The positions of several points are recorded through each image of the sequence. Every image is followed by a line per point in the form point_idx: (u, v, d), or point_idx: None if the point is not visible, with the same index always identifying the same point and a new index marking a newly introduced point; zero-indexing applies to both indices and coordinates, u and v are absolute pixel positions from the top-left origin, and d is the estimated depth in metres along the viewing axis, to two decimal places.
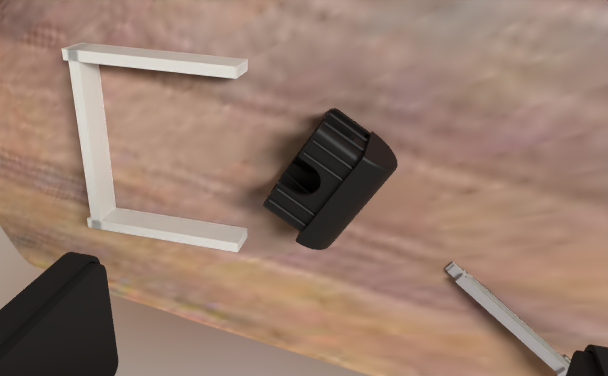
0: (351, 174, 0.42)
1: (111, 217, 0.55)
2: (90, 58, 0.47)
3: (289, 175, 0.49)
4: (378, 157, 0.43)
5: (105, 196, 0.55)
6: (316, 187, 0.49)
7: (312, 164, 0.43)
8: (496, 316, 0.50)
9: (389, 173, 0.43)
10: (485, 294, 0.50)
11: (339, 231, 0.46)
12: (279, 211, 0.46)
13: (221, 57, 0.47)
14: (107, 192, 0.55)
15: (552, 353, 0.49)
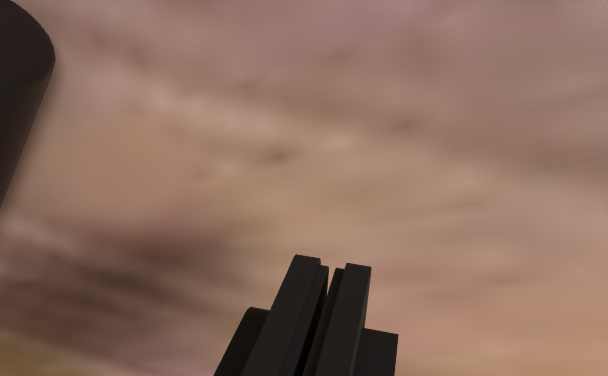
0: None
1: None
2: None
3: None
4: None
5: None
6: None
7: None
8: None
9: None
10: None
11: None
12: None
13: None
14: None
15: None
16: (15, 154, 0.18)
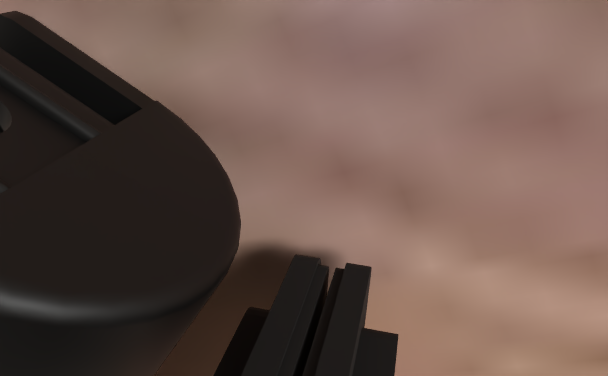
0: None
1: None
2: None
3: None
4: (81, 236, 0.07)
5: None
6: None
7: None
8: None
9: (157, 326, 0.07)
10: None
11: None
12: None
13: None
14: None
15: None
16: None
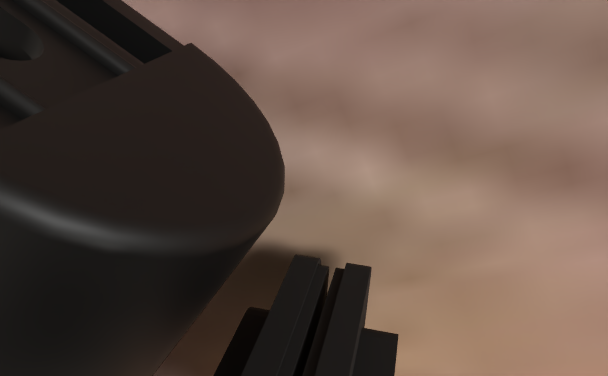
0: None
1: None
2: None
3: None
4: (128, 162, 0.07)
5: None
6: None
7: None
8: None
9: (206, 264, 0.07)
10: None
11: None
12: None
13: None
14: None
15: None
16: None
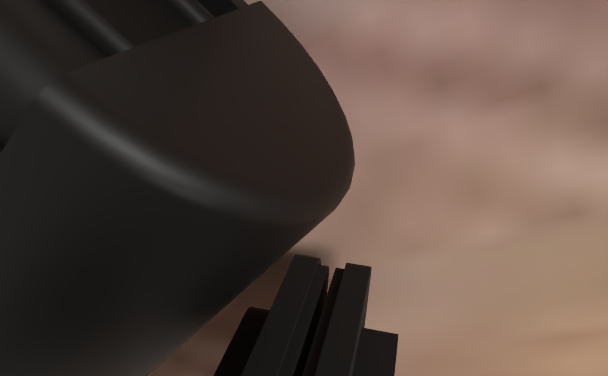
0: None
1: None
2: None
3: None
4: (220, 115, 0.06)
5: None
6: None
7: None
8: None
9: (286, 234, 0.06)
10: None
11: None
12: None
13: None
14: None
15: None
16: None
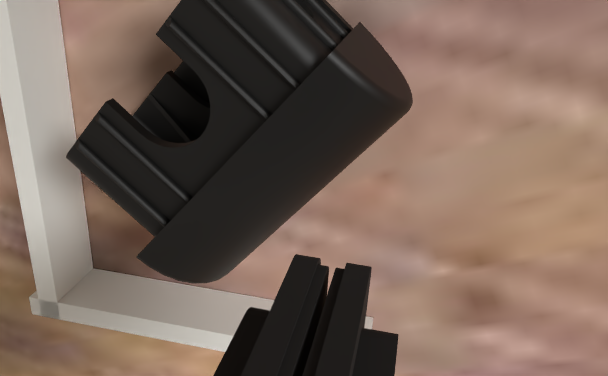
0: (291, 99, 0.15)
1: (82, 293, 0.26)
2: None
3: (157, 102, 0.21)
4: (370, 68, 0.16)
5: (69, 249, 0.26)
6: None
7: (192, 61, 0.16)
8: None
9: (393, 116, 0.16)
10: None
11: (248, 247, 0.19)
12: (104, 178, 0.18)
13: None
14: (74, 240, 0.26)
15: None
16: None
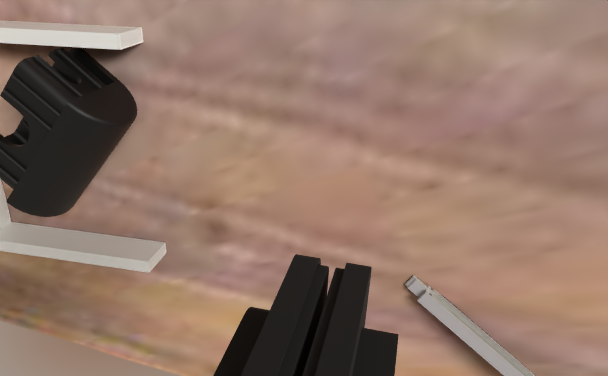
0: (56, 123, 0.34)
1: (1, 234, 0.45)
2: None
3: (25, 124, 0.40)
4: (97, 107, 0.35)
5: None
6: None
7: (17, 107, 0.35)
8: (470, 344, 0.39)
9: (111, 128, 0.35)
10: (455, 316, 0.39)
11: (64, 196, 0.38)
12: None
13: (109, 26, 0.37)
14: None
15: None
16: (111, 151, 0.38)
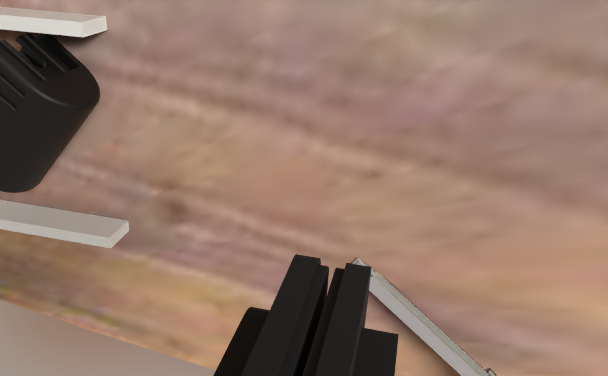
0: (20, 105, 0.36)
1: None
2: None
3: None
4: (60, 90, 0.37)
5: None
6: None
7: None
8: (407, 322, 0.42)
9: (73, 111, 0.37)
10: (394, 296, 0.42)
11: (29, 173, 0.40)
12: None
13: (74, 14, 0.39)
14: None
15: (471, 367, 0.42)
16: None
